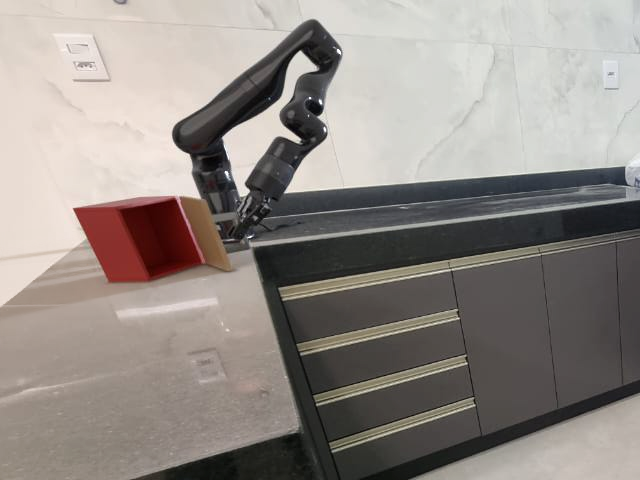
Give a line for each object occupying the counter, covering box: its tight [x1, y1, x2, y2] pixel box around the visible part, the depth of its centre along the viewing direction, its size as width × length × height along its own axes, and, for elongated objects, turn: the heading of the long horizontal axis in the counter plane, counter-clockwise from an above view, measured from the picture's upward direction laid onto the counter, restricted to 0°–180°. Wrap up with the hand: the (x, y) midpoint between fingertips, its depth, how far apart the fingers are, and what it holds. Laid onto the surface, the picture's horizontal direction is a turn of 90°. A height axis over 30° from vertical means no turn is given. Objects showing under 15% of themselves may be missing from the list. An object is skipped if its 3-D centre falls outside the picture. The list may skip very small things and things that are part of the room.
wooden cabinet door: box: [178, 195, 252, 272], centre depth 127 cm, size 7×16×16 cm, turn 53°
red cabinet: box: [72, 195, 206, 283], centre depth 123 cm, size 10×16×17 cm, turn 175°
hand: (233, 238), depth 126 cm, fingers closed on wooden cabinet door
